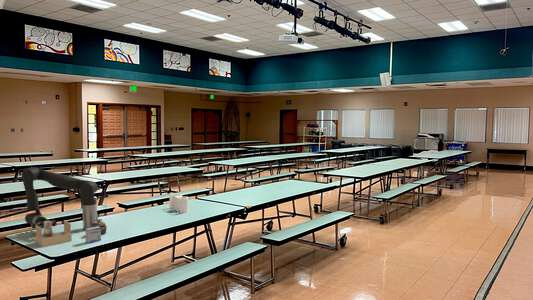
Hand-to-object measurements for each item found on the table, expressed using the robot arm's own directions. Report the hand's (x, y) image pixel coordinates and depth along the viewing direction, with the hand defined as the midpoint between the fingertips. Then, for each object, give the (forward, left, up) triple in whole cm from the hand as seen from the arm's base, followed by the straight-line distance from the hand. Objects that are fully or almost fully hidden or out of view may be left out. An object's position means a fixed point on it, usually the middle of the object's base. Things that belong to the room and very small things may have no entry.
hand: (47, 226), depth 259 cm
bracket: (-104, -8, -8) cm, 105 cm away
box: (0, +1, -7) cm, 7 cm away
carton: (0, +8, -7) cm, 11 cm away
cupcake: (-27, +17, -8) cm, 33 cm away
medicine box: (-18, +31, -8) cm, 36 cm away
